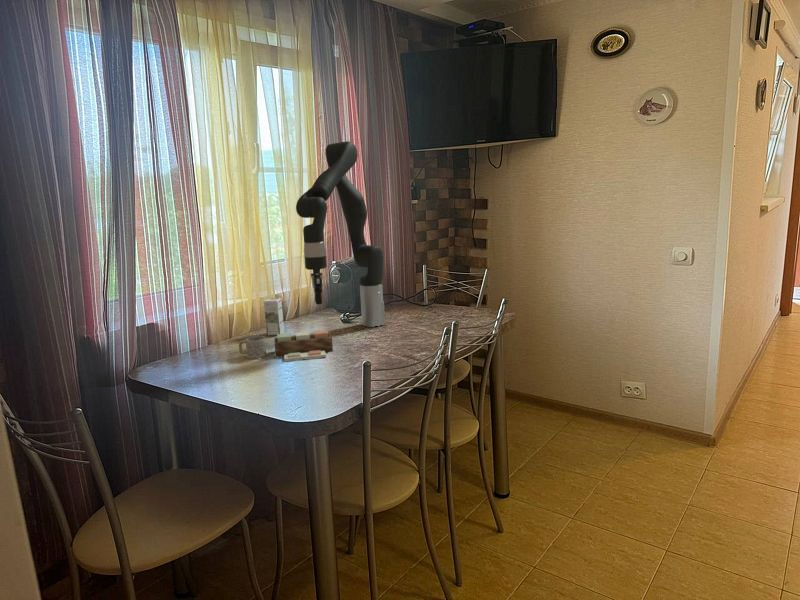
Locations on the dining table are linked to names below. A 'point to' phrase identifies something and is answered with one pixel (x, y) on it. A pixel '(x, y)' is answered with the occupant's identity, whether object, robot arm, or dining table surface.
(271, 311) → the syrup box
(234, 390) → the dining table surface
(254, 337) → the mug
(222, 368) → the dining table surface
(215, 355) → the dining table surface
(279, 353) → the brown wooden frame
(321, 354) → the card
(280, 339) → the sage key
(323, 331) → the terracotta key
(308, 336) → the grey key
